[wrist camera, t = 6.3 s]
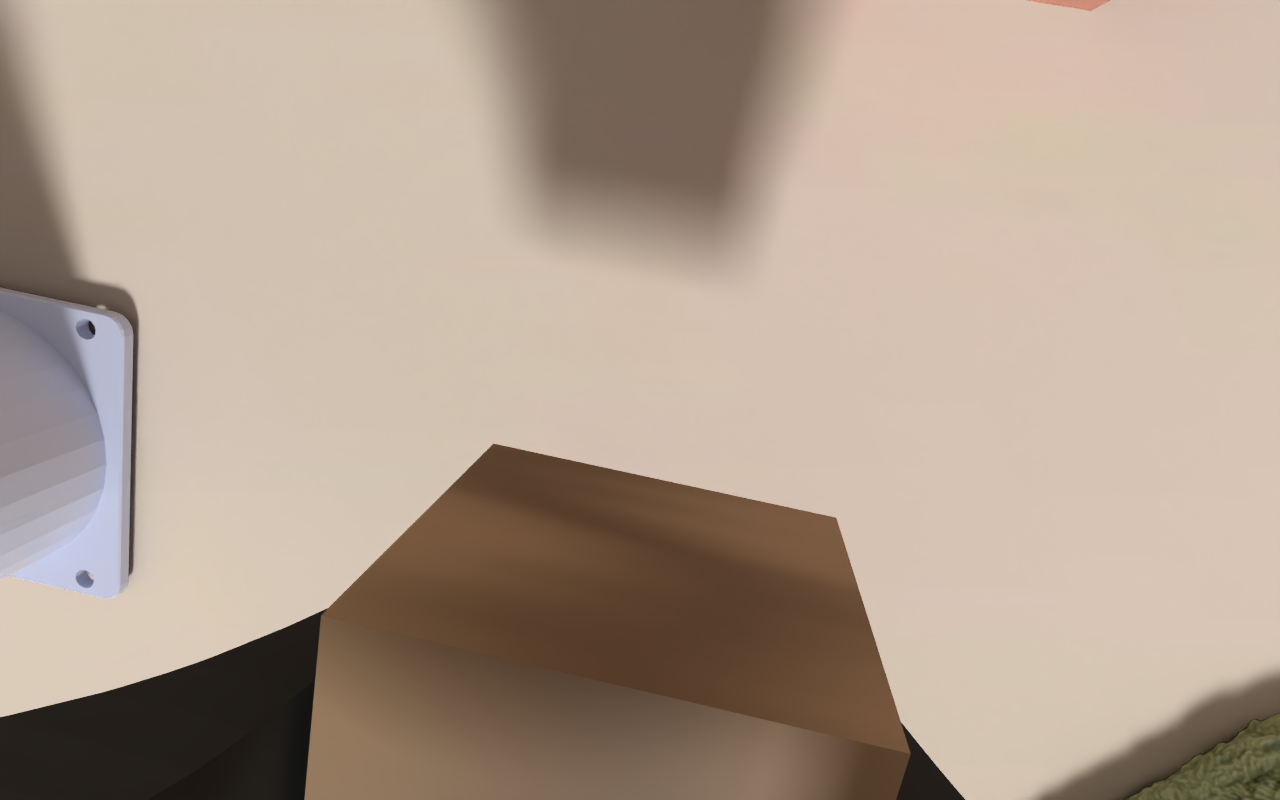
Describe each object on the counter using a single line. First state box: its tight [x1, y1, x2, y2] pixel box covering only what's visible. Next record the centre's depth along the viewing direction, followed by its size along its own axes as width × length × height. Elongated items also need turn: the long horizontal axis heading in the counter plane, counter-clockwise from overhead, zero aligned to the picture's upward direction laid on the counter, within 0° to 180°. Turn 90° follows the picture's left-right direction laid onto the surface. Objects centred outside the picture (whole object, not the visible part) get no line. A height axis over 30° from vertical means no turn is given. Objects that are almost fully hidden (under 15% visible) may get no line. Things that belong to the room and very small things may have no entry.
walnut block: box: [304, 444, 911, 800], centre depth 10 cm, size 5×5×5 cm
